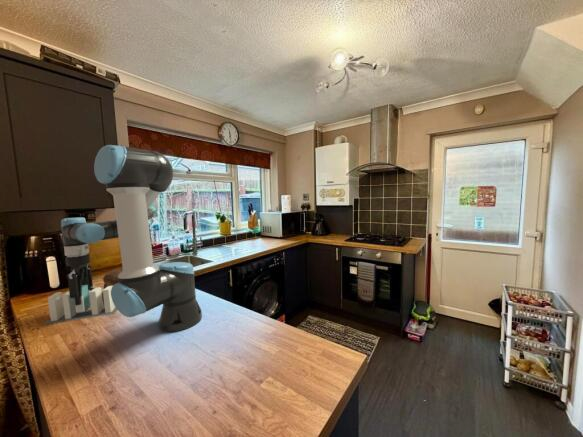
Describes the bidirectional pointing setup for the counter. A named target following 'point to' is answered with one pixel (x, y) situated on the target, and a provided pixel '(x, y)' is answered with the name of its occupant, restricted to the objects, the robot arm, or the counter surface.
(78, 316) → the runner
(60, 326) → the counter surface
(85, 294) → the teal domino
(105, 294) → the domino
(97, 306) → the domino
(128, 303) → the robot arm
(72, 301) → the domino
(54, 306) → the domino
